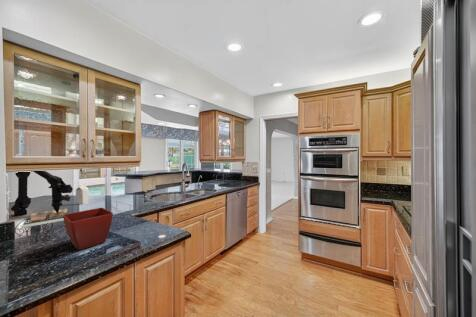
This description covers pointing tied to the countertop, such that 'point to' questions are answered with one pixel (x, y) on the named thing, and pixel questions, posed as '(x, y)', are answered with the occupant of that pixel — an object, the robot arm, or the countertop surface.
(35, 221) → the terracotta tile
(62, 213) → the walnut tile
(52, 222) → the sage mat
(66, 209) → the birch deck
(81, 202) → the milk carton
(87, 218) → the plant pot
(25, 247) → the countertop surface
